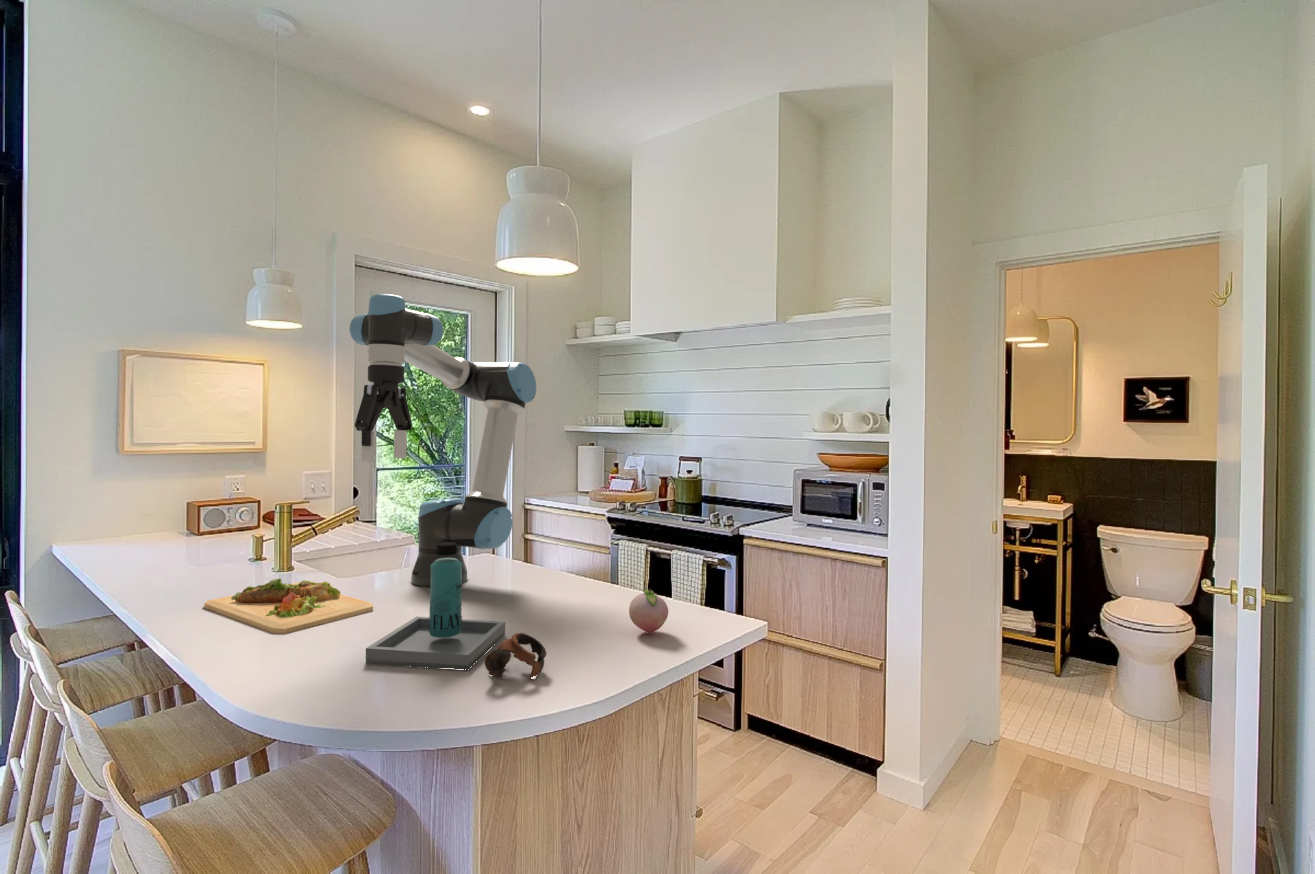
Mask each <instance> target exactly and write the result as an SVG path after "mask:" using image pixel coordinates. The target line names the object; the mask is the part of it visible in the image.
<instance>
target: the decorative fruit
mask: <svg viewBox="0 0 1315 874" xmlns="http://www.w3.org/2000/svg"><path fill="white" fill-rule="evenodd" d="M642 592H643V593H640V594H638V595H635V597H633V599H631V601H630V602H629V603H630V604H629V607H628V613H629V614H628V615H629V618H630V620H631V622H632V623H633V625H635V626H636V627H638V628H639V629H640V630H642V631H644V632H646V633H647V632H648V633H650V634H652V633H654V632H657V630H659V629H660V628H661V627H663V625H664V624H665V622H666V621H667V619H668V615H669V608H668V604H667V603H666V601H665V600H664V599H663V598H661V597H660V596H659V595H658V594H656V593H655V592H654V590H651V588H648V589H645V590H644V591H642ZM651 632H652V633H651ZM648 633H647V634H648Z"/></svg>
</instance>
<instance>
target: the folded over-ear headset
mask: <svg viewBox="0 0 1315 874" xmlns="http://www.w3.org/2000/svg"><path fill="white" fill-rule="evenodd" d="M521 645H525V646H526V645H530V647H531V652H530V651H528V650H527V649H526V648H525V647H523V646H521ZM512 654H513V655H512ZM536 654H537V656H536ZM546 656H547V651H546V648H545V647H544V645H543V644H542V643H541V642H540V641H539V640H538V639H536V638H535V637H533V636H532V635H529V634H527V633H523V632H515V633H514V634H512V636H511V637H510V638H508V639H505V640H504V641H502V642H501V643H500V644H499V645H498V646H497V648H495V649H492V650H490V651H489V652H488V653H487V654H486V655H485V659H484V666H485V669H486V670H487V671H488V675H489V674H490V675H493V677H494V678H498V679H501V678H502V676H503V673H504V672H505V671H504V670H505V668H506V667H507V665H508V664H509V663H510V660H511V657H513V658H515V659H517V660H519V661H521V662H524V663H525V664H526V665H528V666H531V668H532V669H531V672H530V674H529V676H528V677H530V678H531V677H533V676H536V675H538V676H539V675H540V674H539V673H541V672H542V671H543V669H544V666H545V658H546ZM536 658H537V659H536ZM530 678H529V679H530Z"/></svg>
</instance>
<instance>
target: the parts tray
mask: <svg viewBox="0 0 1315 874" xmlns="http://www.w3.org/2000/svg"><path fill="white" fill-rule="evenodd" d="M429 618H430V616H415V617H414V618H412V619H410V620H409V621H407V622H405V623H403V624H402V625H401V626H400V627H397V628H396V629H394V630H393V631H391V632H389V633H388V634H386V635H384V636H383V637H381V638H380V639H379V640H377V641H375V642H373V643H372V644H370V645H368V646H367V647H366V648H365V665H375V666H389V667H401V666H408V667H407V668H415V667H423V668H422V669H430V668H454V669H464V670H465V669H466V670H468V669H469V668H470V667H471V666H473V664H474V663H476V661H478V660H479V659H480V658H481V657H482V656H483V655H484V654H485V653H486V652H487V651H488V650H489V649H490V648H491V647H492V646H494V644H496V643H497V642H498V641H499V640H500V639H501V638H502V637H503V636H504V635H505V636H506V621H496V620H482V619H481V620H479V619H478V620H477V619H462V620H461V626H462V629H461V630H460V633H459V634H458V635H456V636H452V637H446V638H437V637H433V636H431V635H430V633H429V631H428V630H429V622H430V619H429ZM505 636H504V637H505ZM504 637H503V638H504ZM503 638H502V639H503ZM502 639H501V640H502ZM501 640H500V641H501ZM500 641H499V642H500ZM499 642H498V643H499ZM498 643H497V644H498ZM497 644H496V645H497ZM494 647H495V646H494ZM487 653H488V652H487ZM487 653H486V654H487ZM486 654H485V655H486ZM485 655H484V656H485ZM484 656H483V657H484ZM483 657H482V658H483ZM482 658H481V659H482ZM481 659H480V660H481ZM480 660H479V661H480ZM479 661H478V662H479ZM476 664H477V663H476ZM409 666H411V667H409ZM425 667H426V668H425ZM427 667H428V668H427ZM473 667H474V666H473Z"/></svg>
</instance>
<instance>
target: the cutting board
mask: <svg viewBox="0 0 1315 874" xmlns="http://www.w3.org/2000/svg"><path fill="white" fill-rule="evenodd" d="M282 579H283V578H281V577H280V578H273V579H271V580H269V581H268V582H267V583H265V584H260V585H256V586H254V587H253V586H247V587H246V588H244V589H243V590H242V592H239V591H237V592H236V593H235V594H232V595H228V596H224V597H219V598H214V599H212V598H211V599H208V600H206V601H205V602H204V609H207V610H208V609H210V610H209V611H212V612H214V611H215V612H214V613H217V614H219V613H220V615H223V616H225V617H228V618H231V619H233V620H237V621H239V622H242V623H244V622H245V624H247V625H250V626H253V627H255V626H256V628H258V629H261V630H263V629H264V630H263V631H267V632H269V633H272V634H289V633H293V632H298V631H300V630H305V629H309V628H312V626H313V627H316V626H319V624H320V625H324V624H327V622H328V623H331V622H336V621H338V620H342V619H346V618H350V617H353V616H359V615H362V614H366V613H369V612H373V611H374V603H372V602H369V601H366V600H362V599H359V598H355V597H351V596H348V595H345V594H341V591H340V590H339V589H337V588H336V587H334V586H332V585H331V583H330V582H328V581H322V582H315V581H310V580H302V581H300V582H294V583H286V582H284V583H283V581H282Z"/></svg>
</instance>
